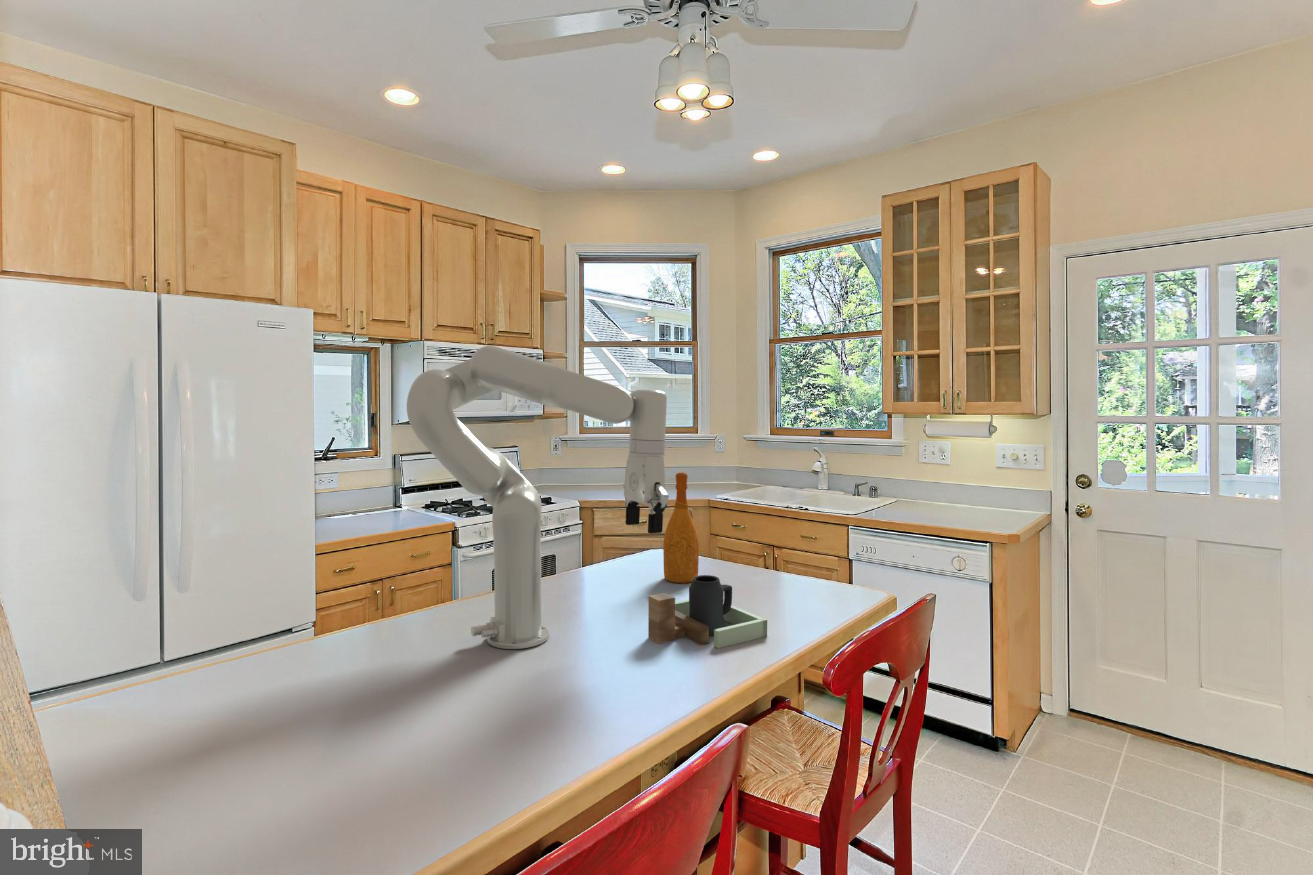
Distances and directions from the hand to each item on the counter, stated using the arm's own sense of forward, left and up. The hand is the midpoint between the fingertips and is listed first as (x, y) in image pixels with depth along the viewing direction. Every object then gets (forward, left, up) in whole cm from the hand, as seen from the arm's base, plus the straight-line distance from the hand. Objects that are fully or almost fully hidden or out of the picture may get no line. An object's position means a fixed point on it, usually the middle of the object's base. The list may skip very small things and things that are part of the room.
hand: (643, 528), depth 139 cm
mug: (+14, -5, -23) cm, 27 cm away
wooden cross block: (+4, -5, -23) cm, 23 cm away
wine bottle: (+31, +30, -23) cm, 49 cm away
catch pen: (+14, -6, -23) cm, 27 cm away
